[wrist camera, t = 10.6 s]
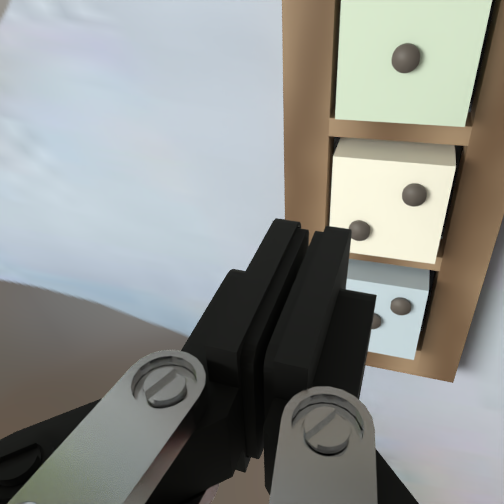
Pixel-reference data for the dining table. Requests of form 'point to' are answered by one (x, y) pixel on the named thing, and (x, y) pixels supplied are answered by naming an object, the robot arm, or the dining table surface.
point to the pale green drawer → (409, 60)
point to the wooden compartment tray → (470, 137)
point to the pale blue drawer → (392, 304)
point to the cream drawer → (392, 196)
